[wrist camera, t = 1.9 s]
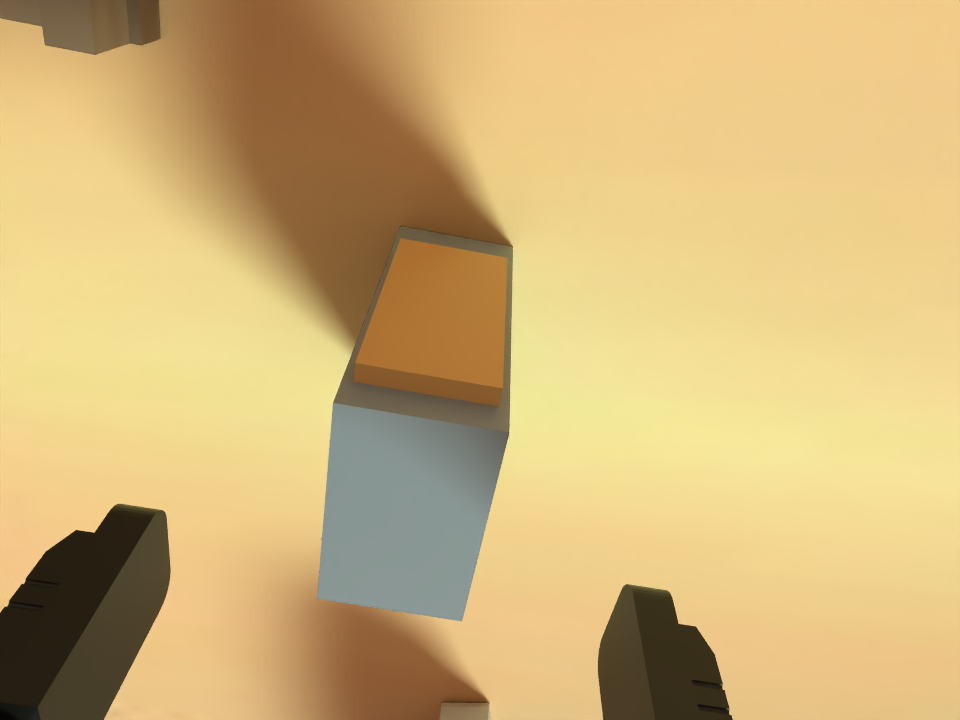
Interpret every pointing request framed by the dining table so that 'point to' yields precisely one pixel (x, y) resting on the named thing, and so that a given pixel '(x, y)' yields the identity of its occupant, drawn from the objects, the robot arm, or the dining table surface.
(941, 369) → the dining table surface
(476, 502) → the grey rectangular block
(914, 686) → the dining table surface
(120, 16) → the rail
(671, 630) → the robot arm
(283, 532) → the dining table surface
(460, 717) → the grey rectangular slab
